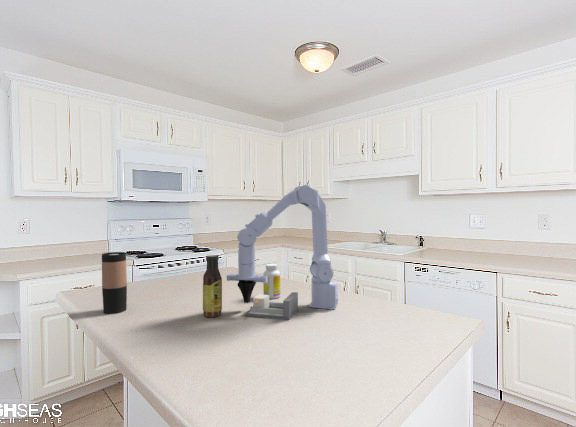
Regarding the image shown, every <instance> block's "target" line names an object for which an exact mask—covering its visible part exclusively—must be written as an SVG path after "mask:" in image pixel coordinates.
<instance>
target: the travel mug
mask: <svg viewBox="0 0 576 427" xmlns="http://www.w3.org/2000/svg"><path fill="white" fill-rule="evenodd" d="M127 275H128V274H127V252H126V251H125V252H123V251H114V252H105V253H102V254H101V289H102V290H101V291H102V292H101V294H102V309H103V313H104V314H106V315H115V314H120V313H123V312H126V311H127V303H128V302H127V300H128V296H127V294H128V283H127V282H128V281H127V280H128V277H127Z"/></svg>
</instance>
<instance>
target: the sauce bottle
mask: <svg viewBox="0 0 576 427" xmlns="http://www.w3.org/2000/svg"><path fill="white" fill-rule="evenodd" d="M205 257H206V260H205V261H206V270H205V272H204V274H203V277H202V281H203V282H202V312H203V317H205V318H216V317H220V316H221V315H222V311H223V310H222V309H223V278H222V275H221V273H220V270H219V258H220V256H219V255H218V254H209V255H206V256H205Z"/></svg>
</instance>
